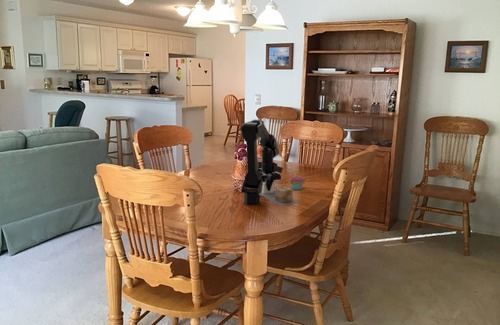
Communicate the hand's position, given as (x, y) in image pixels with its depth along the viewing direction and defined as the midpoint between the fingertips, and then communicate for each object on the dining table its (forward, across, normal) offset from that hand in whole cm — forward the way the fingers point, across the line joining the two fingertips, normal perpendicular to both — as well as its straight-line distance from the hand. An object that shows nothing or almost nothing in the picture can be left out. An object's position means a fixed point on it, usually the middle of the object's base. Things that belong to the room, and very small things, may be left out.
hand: (266, 189), depth 219 cm
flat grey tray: (+2, -10, 0) cm, 10 cm away
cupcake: (+2, +2, -20) cm, 20 cm away
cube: (+1, -17, 0) cm, 17 cm away
